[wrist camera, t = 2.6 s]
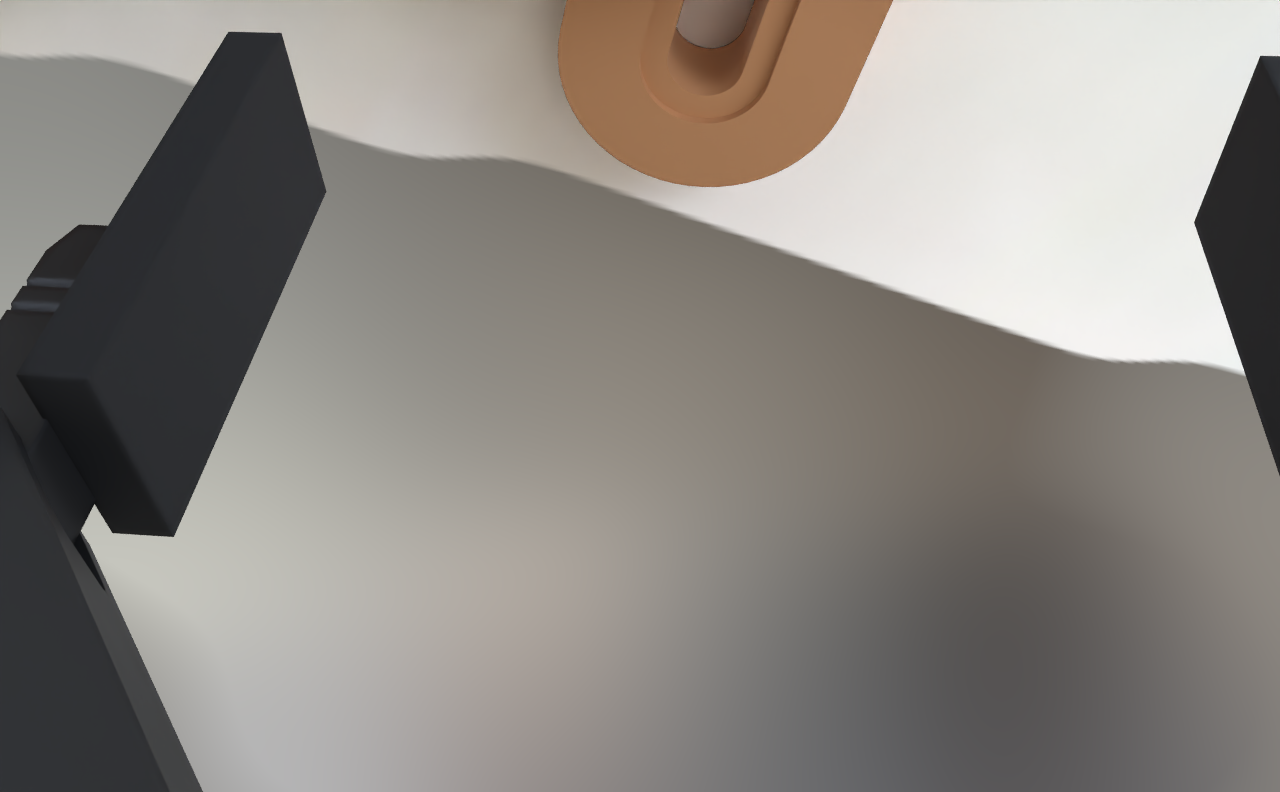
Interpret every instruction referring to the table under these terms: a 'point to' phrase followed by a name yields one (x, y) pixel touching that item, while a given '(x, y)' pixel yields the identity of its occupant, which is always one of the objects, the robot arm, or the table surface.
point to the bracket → (713, 84)
